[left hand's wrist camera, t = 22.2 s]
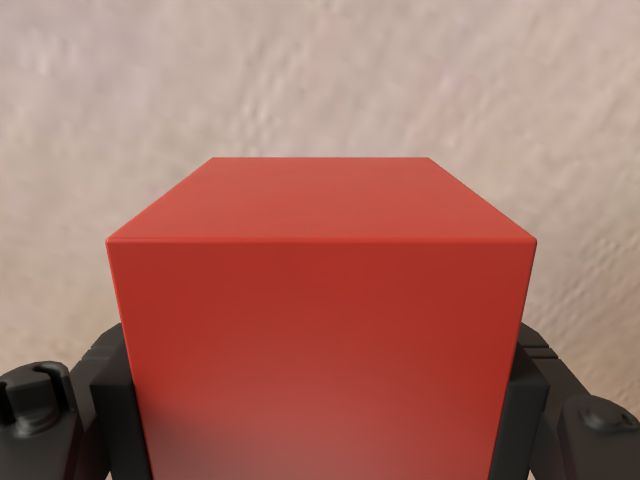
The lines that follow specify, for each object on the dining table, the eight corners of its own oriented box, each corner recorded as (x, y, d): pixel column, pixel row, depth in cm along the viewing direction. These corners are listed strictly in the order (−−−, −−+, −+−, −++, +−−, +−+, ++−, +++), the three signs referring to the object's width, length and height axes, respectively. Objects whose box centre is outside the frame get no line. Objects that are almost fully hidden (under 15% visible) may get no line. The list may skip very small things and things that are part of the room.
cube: (409, 367, 16) (471, 570, 10) (230, 367, 16) (169, 570, 10) (429, 157, 13) (540, 239, 7) (211, 156, 13) (102, 239, 7)
